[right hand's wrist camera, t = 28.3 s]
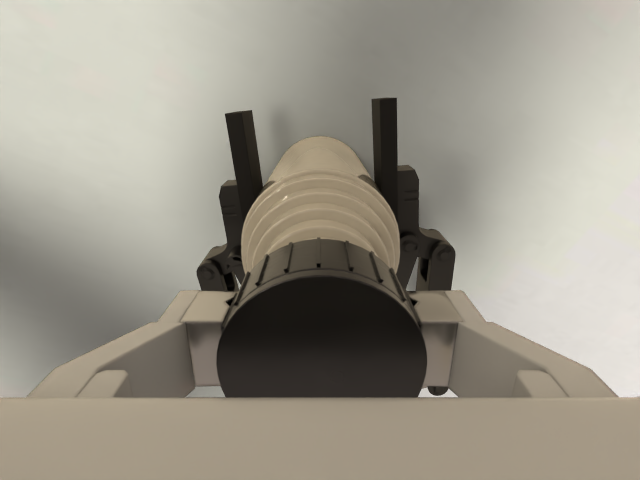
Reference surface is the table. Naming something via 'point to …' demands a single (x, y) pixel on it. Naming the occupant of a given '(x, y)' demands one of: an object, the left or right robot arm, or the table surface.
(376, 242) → the bottle
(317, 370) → the cap
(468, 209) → the table surface
